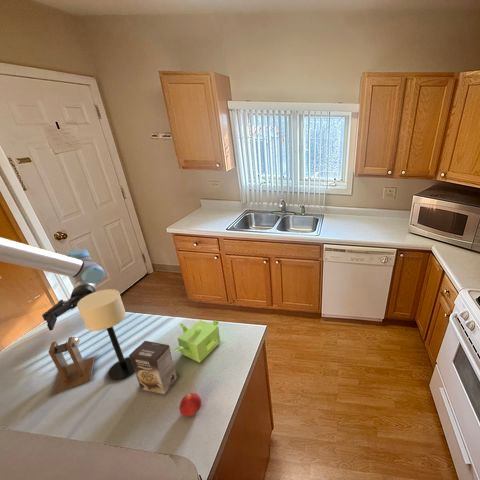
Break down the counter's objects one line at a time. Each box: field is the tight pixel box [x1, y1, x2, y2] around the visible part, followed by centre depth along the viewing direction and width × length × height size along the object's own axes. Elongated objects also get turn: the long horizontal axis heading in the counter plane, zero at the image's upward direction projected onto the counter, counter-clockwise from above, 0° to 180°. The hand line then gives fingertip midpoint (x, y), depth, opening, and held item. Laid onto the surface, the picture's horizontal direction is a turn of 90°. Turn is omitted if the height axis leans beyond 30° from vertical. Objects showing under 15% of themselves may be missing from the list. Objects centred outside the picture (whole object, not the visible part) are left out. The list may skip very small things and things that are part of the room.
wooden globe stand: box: [48, 336, 96, 395], centre depth 84 cm, size 11×9×15 cm
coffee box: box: [128, 340, 178, 395], centre depth 82 cm, size 9×6×16 cm
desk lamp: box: [76, 288, 135, 381], centre depth 83 cm, size 10×10×31 cm
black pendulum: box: [56, 336, 81, 354], centre depth 85 cm, size 12×4×4 cm, turn 34°
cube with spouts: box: [174, 319, 221, 363], centre depth 97 cm, size 15×14×11 cm
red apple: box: [179, 392, 202, 417], centre depth 76 cm, size 6×6×8 cm
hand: (74, 321), depth 95 cm, fingers open, 13 cm apart
